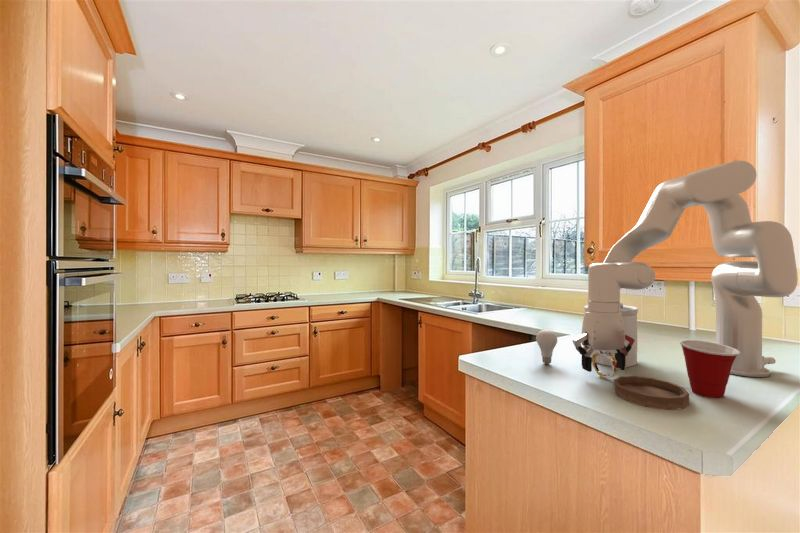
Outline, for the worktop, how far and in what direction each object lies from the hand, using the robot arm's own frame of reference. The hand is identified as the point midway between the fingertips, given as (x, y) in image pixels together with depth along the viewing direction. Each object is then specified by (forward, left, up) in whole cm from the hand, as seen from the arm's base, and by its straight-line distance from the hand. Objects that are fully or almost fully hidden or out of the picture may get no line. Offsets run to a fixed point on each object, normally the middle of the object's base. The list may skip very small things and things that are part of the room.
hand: (603, 369), depth 94 cm
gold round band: (0, 0, -3) cm, 3 cm away
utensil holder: (-13, -15, -3) cm, 20 cm away
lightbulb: (+9, -14, -3) cm, 17 cm away
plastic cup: (-17, +13, -3) cm, 22 cm away
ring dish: (-2, +13, -2) cm, 13 cm away
